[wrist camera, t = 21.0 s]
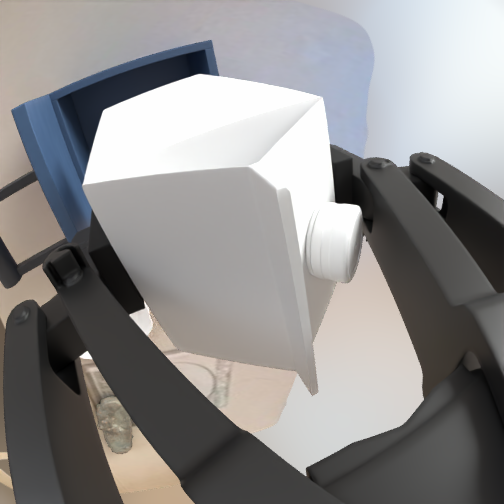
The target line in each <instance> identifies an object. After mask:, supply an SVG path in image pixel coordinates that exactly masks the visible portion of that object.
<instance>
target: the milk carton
mask: <svg viewBox="0 0 504 504" xmlns="http://www.w3.org/2000/svg"><path fill="white" fill-rule="evenodd" d="M82 188H83V191H84V193H85V195H86V198H87V200H88V202H89V204H90V206H91V208H92V210H93V212H94V214H95V216H96V217H97V219H98V221H99V223H100V225H101V227H102V229H103V231H104V232H105V234H106V236H107V238H108V240H109V242H110V243H111V245H112V247H113V249H114V250H115V252H116V254H117V256H118V257H119V259H120V261H121V263H122V264H123V266H124V268H125V269H126V271H127V273H128V275H129V276H130V278H131V280H132V281H133V283H134V284H135V286H136V288H137V289H138V291H139V293H140V294H141V296H142V297H143V299H144V301H145V302H146V304H147V305H148V307H149V308H150V310H151V312H152V313H153V315H154V316H155V318H156V319H157V321H158V322H159V324H160V325H161V327H162V328H163V330H164V331H165V333H166V334H167V336H168V337H169V339H170V340H171V341H172V343H173V344H174V346H175V347H176V348H177V349H178V350H180V351H184V352H188V353H193V354H197V355H202V356H207V357H212V358H217V359H222V360H228V361H233V362H239V363H244V364H250V365H256V366H263V367H269V368H276V369H283V370H290V371H296V372H297V373H298V374H299V376H300V378H301V379H302V381H303V382H304V384H305V385H306V387H307V389H308V390H309V392H310V393H311V395H312V396H313V395H315V394H317V393H318V384H317V376H316V367H315V358H314V350H313V341H314V339H315V337H316V334H317V332H318V329H319V327H320V325H321V322H322V319H323V317H324V314H325V312H326V309H327V307H328V304H329V302H330V299H331V296H332V294H333V291H334V289H335V286H336V283H337V282H341V283H349V282H350V281H351V280H352V278H353V276H354V274H355V272H356V269H357V266H358V262H359V258H360V253H361V248H362V239H363V216H362V211H361V208H360V207H359V206H357V205H351V204H337V203H335V193H334V182H333V172H332V162H331V153H330V144H329V136H328V128H327V120H326V114H325V107H324V102H323V98H322V97H318V96H315V95H312V94H308V93H304V92H300V91H296V90H291V89H287V88H282V87H277V86H272V85H267V84H262V83H256V82H251V81H245V80H239V79H233V78H226V77H219V76H211V75H203V74H198V75H194V76H191V77H188V78H185V79H182V80H179V81H176V82H173V83H170V84H167V85H165V86H162V87H159V88H156V89H154V90H151V91H148V92H146V93H143V94H141V95H138V96H136V97H133V98H131V99H128V100H126V101H123V102H121V103H119V104H116V105H114V106H112V107H109V108H107V109H105V110H103V113H102V116H101V119H100V122H99V125H98V129H97V132H96V136H95V139H94V143H93V146H92V150H91V154H90V157H89V161H88V165H87V169H86V174H85V178H84V182H83V184H82Z"/></svg>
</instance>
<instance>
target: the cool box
mask: <svg viewBox="0 0 504 504" xmlns="http://www.w3.org/2000/svg"><path fill="white" fill-rule="evenodd" d="M198 74H203V75H211V76H219V73H218V69H217V64H216V59H215V54H214V49H213V44H212V40H208V41H204V42H199V43H195V44H190V45H186V46H182V47H178V48H174V49H170V50H166V51H163V52H159V53H156V54H152V55H149V56H146V57H142V58H139V59H136V60H133V61H130V62H127V63H124V64H121V65H118V66H115V67H112V68H110V69H107V70H104V71H102V72H99V73H96V74H94V75H91V76H89V77H86V78H84V79H81V80H79V81H77V82H74V83H72V84H70V85H67V86H65V87H63V88H61V89H59V90H56V91H54V92H52V93H50V94H49V97H50V100H51V103H52V106H53V109H54V112H55V115H56V118H57V121H58V124H59V127H60V130H61V132H62V135H63V138H64V141H65V143H66V146H67V149H68V151H69V154H70V157H71V159H72V162H73V164H74V167H75V169H76V172H77V174H78V177H79V179H80V182H81V184H83V182H84V178H85V174H86V169H87V165H88V161H89V157H90V154H91V150H92V146H93V143H94V139H95V136H96V132H97V129H98V125H99V122H100V119H101V116H102V113H103V110H105V109H107V108H109V107H112V106H114V105H116V104H119V103H121V102H123V101H126V100H128V99H131V98H133V97H136V96H138V95H141V94H143V93H146V92H148V91H151V90H154V89H156V88H159V87H162V86H165V85H167V84H170V83H173V82H176V81H179V80H182V79H185V78H188V77H191V76H194V75H198Z"/></svg>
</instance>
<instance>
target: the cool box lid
mask: <svg viewBox="0 0 504 504" xmlns="http://www.w3.org/2000/svg"><path fill="white" fill-rule="evenodd" d="M11 112H12V114H13V117H14V120H15V123H16V126H17V129H18V132H19V134H20V137H21V140H22V142H23V145H24V147H25V150H26V153H27V155H28V158H29V160H30V162H31V165H32V167H33V170H32V171H31V172H29V173H27V174H25V175H23V176H22V177H20V178H18V179H16V180H15V181H13V182H11V183H10V184H8V185H6V186H5V187H3V188H1V189H0V201H2V200H4V199H5V198H7V197H9V196H10V195H12V194H14V193H15V192H17V191H19V190H20V189H22V188H24V187H26V186H27V185H29V184H31V183H33V182H35V181H36V180H38V181H39V183H40V186H41V188H42V190H43V192H44V194H45V197H46V199H47V201H48V203H49V205H50V207H51V209H52V211H53V213H54V215H55V217H56V219H57V221H58V223H59V225H60V227H61V229H62V231H63V233H64V235H65V237H66V238H65V239H63V240H61V241H59V242H57V243H55V244H53V245H52V246H50V247H48V248H46V249H44V250H43V251H41V252H39V253H37V254H35V255H34V256H32V257H30V258H28V259H27V260H25V261H23V262H22V263H20V264H18V265H17V264H16V262H15V260H14V259H13V257H12V256H11V254H10V252H9V251H8V249H7V247H6V246H5V244H4V242H3V241H2V239H1V237H0V281H1V283H2V284H3V285H4V287H5V288H7V289H8V288H11V287H13V286H15V285H16V284H17V283H18V282H19V281H20V279H21V278H22V275H23V274H25V273H27V272H28V271H30V270H32V269H34V268H35V267H37V266H39V265H41V264H42V263H44V260H45V259H46V258H47V256H48V255H49V254H50V253H51V252H52V251H54V250H55V249H56V248H58V247H60V246H62V245H64V244H67V243H71V241H72V239H73V237H74V236H75V234H76V233H77V232H78V231H81V230H83V229H85V228H87V227H90V222H91V211H92V208H91V206H90V204H89V202H88V200H87V198H86V195H85V193H84V191H83V188H82V184H81V182H80V179H79V177H78V174H77V172H76V169H75V167H74V164H73V162H72V159H71V157H70V154H69V151H68V149H67V146H66V143H65V141H64V138H63V135H62V132H61V130H60V127H59V124H58V121H57V118H56V115H55V112H54V109H53V106H52V103H51V100H50V97H49V94H48V95H45V96H42V97H39V98H36V99H34V100H31V101H28V102H26V103H23V104H21V105H19V106H18V107H16V108H14V109H12V110H11Z"/></svg>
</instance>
